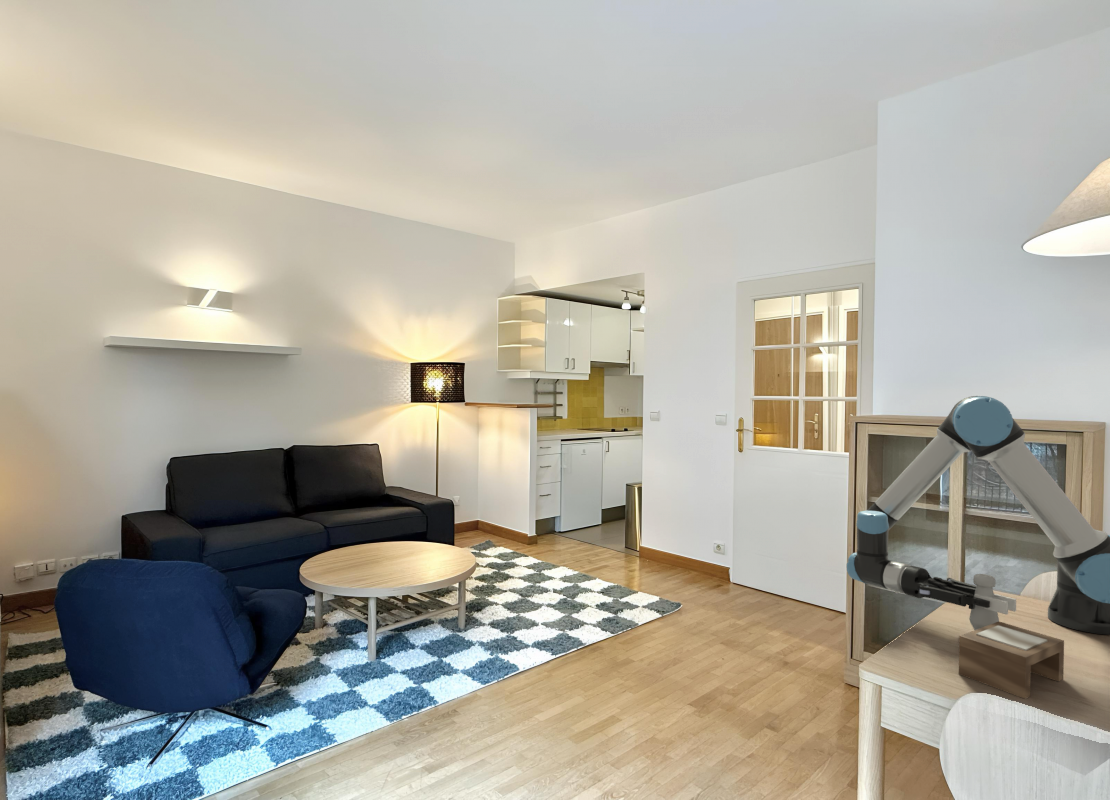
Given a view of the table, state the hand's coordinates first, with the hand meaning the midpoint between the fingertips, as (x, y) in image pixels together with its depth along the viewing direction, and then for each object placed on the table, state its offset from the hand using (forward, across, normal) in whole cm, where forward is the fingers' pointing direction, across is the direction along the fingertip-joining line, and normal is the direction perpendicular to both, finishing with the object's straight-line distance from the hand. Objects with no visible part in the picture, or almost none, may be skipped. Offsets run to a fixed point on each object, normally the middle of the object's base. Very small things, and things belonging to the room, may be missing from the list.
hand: (1011, 606), depth 141 cm
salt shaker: (-5, 0, -8) cm, 9 cm away
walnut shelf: (+6, +13, -10) cm, 18 cm away
